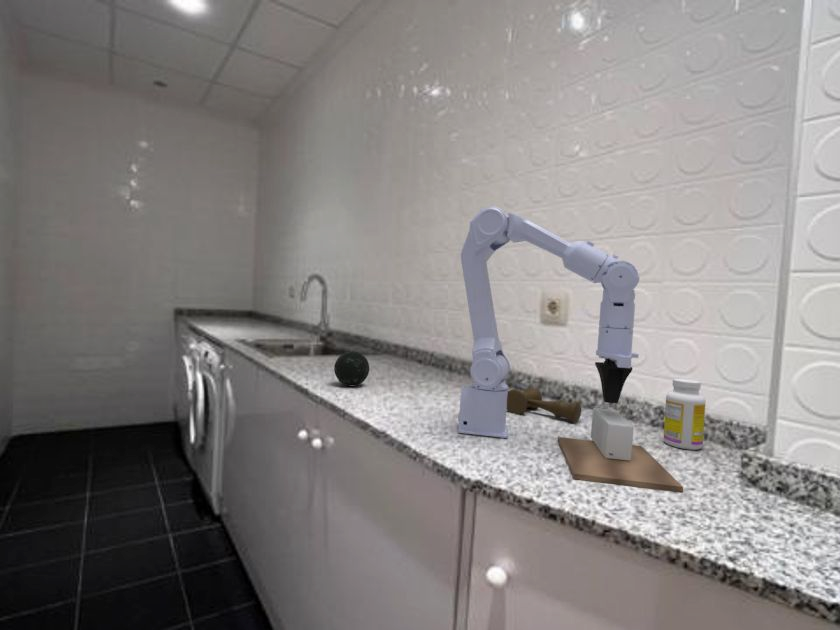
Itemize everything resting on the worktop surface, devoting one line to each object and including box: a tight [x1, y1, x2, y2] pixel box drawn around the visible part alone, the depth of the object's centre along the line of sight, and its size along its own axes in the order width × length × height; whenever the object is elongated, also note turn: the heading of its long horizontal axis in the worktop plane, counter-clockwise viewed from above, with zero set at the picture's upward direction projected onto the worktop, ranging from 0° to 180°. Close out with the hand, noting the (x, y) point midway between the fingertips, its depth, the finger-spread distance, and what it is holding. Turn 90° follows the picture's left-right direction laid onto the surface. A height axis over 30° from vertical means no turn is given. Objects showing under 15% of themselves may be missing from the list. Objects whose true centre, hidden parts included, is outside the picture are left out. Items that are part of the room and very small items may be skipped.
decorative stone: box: [333, 350, 370, 386], centre depth 127 cm, size 10×10×10 cm
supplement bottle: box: [663, 378, 706, 451], centre depth 86 cm, size 7×7×13 cm
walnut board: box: [557, 436, 684, 493], centre depth 74 cm, size 15×19×1 cm
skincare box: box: [590, 407, 634, 461], centre depth 79 cm, size 6×4×12 cm
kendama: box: [507, 387, 582, 424], centre depth 105 cm, size 6×10×20 cm
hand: (610, 402), depth 80 cm, fingers closed
